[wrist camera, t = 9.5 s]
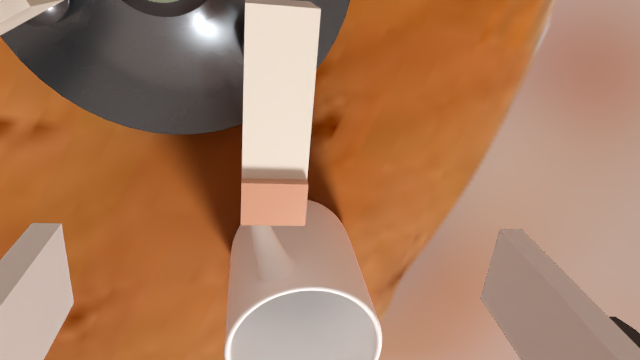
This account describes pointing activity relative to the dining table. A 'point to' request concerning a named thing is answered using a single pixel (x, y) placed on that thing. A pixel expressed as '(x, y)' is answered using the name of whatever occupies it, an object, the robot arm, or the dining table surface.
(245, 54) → the handle
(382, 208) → the dining table surface
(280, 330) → the mug
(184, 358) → the dining table surface
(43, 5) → the handle
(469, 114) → the dining table surface
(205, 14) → the base
